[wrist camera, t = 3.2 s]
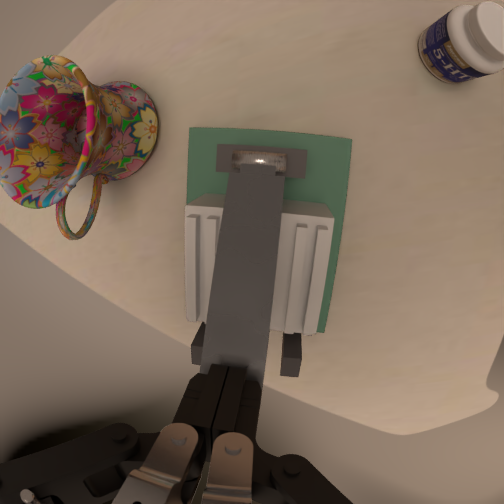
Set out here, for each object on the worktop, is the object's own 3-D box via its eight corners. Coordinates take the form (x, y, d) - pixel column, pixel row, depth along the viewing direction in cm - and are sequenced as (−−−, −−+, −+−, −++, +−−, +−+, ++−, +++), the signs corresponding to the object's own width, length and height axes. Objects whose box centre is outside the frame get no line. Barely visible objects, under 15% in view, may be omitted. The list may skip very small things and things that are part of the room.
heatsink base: (349, 139, 22) (377, 136, 15) (323, 326, 27) (331, 386, 20) (193, 128, 23) (151, 122, 16) (190, 311, 29) (160, 365, 21)
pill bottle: (411, 65, 19) (462, 34, 11) (423, 17, 18) (470, -24, 9) (463, 95, 19) (527, 83, 11) (473, 47, 18) (531, 23, 9)
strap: (286, 160, 17) (287, 150, 16) (260, 404, 13) (259, 409, 12) (235, 156, 17) (233, 146, 16) (200, 396, 14) (195, 399, 13)
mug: (72, 96, 23) (-13, 89, 13) (160, 66, 22) (87, 30, 12) (89, 219, 27) (10, 257, 17) (178, 206, 25) (113, 246, 16)
